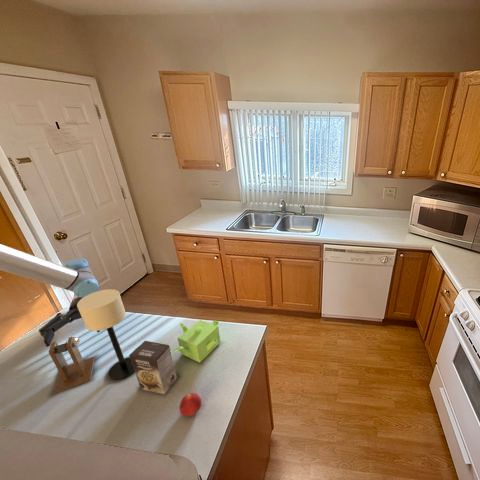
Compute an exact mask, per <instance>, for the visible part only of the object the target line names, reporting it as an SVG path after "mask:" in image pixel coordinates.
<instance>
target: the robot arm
mask: <svg viewBox="0 0 480 480" xmlns="http://www.w3.org/2000/svg"><path fill="white" fill-rule="evenodd" d="M0 271H2V272H6V273H9V274H12V275H16V276H19V277H23V278H26V279H28V280H33V281H36V282H40V283H43V284H46V285H49V286H53V287H56V288H59V289H63V290H67V291H69V292H72V293H73V297H72V300H71V302H70V304H69V308H68V311H66V313H61V312H58V313H56V314H55V316H54V317H53V318H52V319H50V320H49V321H48V322H46V323H45V324H44V325H43V326H42V327H40V328H39V329H38V332H39V335H40V336H41V337H43V339H44V340H43V343H44V345H45V347H46V348H48V347H49V348H50V346H51V344H52V342H53V339H54V337H55V333H56V332H57V331H59V330H60V329H61V328H63V327H64V326H66V325H68V324H71V323H72V322H74V321H77V320H80V319H82V317H81V314H80V312H79V309H78V307H77V303H78V302H79V301H80V300H81V299H82V298H83V297H85V296H87V295H89V294H91V293H94V292H97V291H100V290H99V289H100V285H99V282H98V280H97V279H96V277H95V275H94V274H93V272H92V270H91V267H90V264H89V261H88V260H87V259H85V258H74V259H71V260H69V261H67V262H65V263H64V265H61V264H58V263H56V262H54V261H53V262H52V261H50V260H47V259H45V258H42V257H39V256H36V255H33V254H31V253H28V252H24V251H22V250H19V249H16V248H15V247H12V246H11V247H10V246H8V245H5V244H2V243H0ZM100 332H101V330H99V331H96V333H97V334H98V333H100Z"/></svg>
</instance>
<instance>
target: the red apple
mask: <svg viewBox="0 0 480 480" xmlns="http://www.w3.org/2000/svg"><path fill="white" fill-rule="evenodd" d="M201 406H202V398H201V396H200V395H199V394H198V393H196V392H190V393H187V394H186V395H184V397H182V399H181V401H180V403H179V411H180V414H181V415H182V416H184V417H191V416H194V415H195V414H197V413H198V412H199V410H200V409H201Z"/></svg>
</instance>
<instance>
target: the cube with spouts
mask: <svg viewBox="0 0 480 480" xmlns="http://www.w3.org/2000/svg"><path fill="white" fill-rule="evenodd" d="M218 325H219V321H218V320H215V319H214V320H213V322H212V323H210V322H207V321H205V320H202V319H199V320H198V321H197V322H195V323H194V324H193V325H192V326H190V327H189V328H188V327H187V326H186V325H185V324H184V323H179V324H178V326H179V327H180V328H181V329H182V331H183V333H182V334H181V335H179V336H178V337H177V342H178V347H177V348H175V349H174V352H175V353H176V352H180V354H181V355H182V356H184V357H187V358H189V359H191V360H192V361H195V362H197V363H201V362H202V361H203V360H204V359H205V358H206V357H207V356H209V354H210V353H211V352H212V351H214V349H216V347H218V346H219V344H221V336H220V330H219V326H218Z"/></svg>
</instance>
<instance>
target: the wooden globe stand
mask: <svg viewBox="0 0 480 480" xmlns="http://www.w3.org/2000/svg"><path fill="white" fill-rule="evenodd" d="M73 337H74V336H69V337H68V339H67V340H68V342H67V345H66V348H67V350H68V351H67V352H68V355H69V356H70V358H71V360H72V362H73V363H71V364H68V362H67V360H66V358H65V356H64V354H63V353H59V354H57V349H56V346H58V345H59V344H58V342H57V341H56V340H55V341H52V342H51V344H50V346H49V348H48V354H49V356H50V358H51V360H52V362H53V363H54V366H55V367H56V370H57V371H58V373H59V374H58V377H57V380H56V383H55V386H54V390H53V393H52V394H53V395H54V394H58V393H60V392H63V391H65V390H68V389H72V388H74V387H77V386H79V385H82V384H85V383H88V382H91V380H92V376H93V370H94V365H95V359H96V357H95V356H92V357H89V358H86V359H84V358H83V356H82V354H81V352H80V349H79V347H78V345H76V343H75V341H74V338H73Z"/></svg>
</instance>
